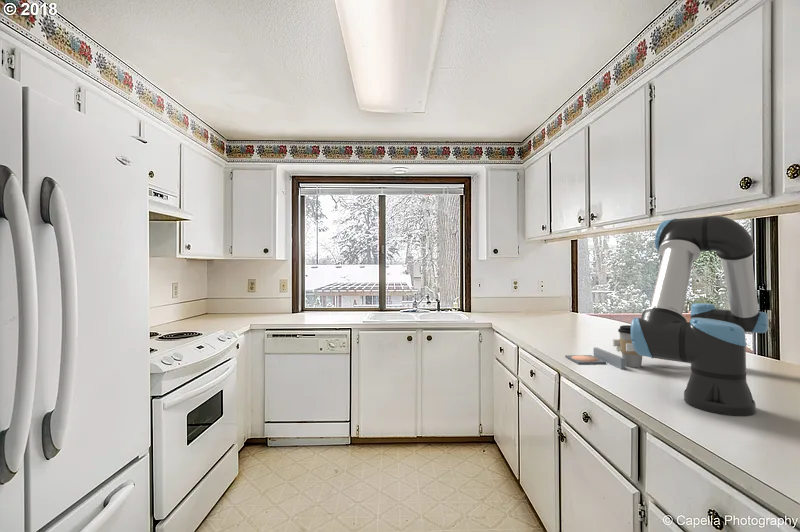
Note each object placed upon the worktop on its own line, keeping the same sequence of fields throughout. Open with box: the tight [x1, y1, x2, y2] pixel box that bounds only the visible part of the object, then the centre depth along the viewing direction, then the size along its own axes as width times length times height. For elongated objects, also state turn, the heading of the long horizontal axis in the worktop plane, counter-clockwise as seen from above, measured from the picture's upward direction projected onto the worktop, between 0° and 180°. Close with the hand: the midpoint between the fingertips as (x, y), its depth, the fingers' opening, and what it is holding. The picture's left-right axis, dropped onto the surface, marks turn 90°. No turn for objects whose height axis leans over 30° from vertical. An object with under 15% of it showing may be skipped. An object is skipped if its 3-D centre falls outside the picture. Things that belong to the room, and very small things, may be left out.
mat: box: [564, 354, 607, 365], centre depth 157 cm, size 12×11×1 cm
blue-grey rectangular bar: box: [593, 347, 626, 370], centre depth 153 cm, size 20×2×4 cm, turn 1°
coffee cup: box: [617, 324, 643, 368], centre depth 148 cm, size 9×9×15 cm
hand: (619, 345), depth 149 cm, fingers closed on coffee cup, 8 cm apart
